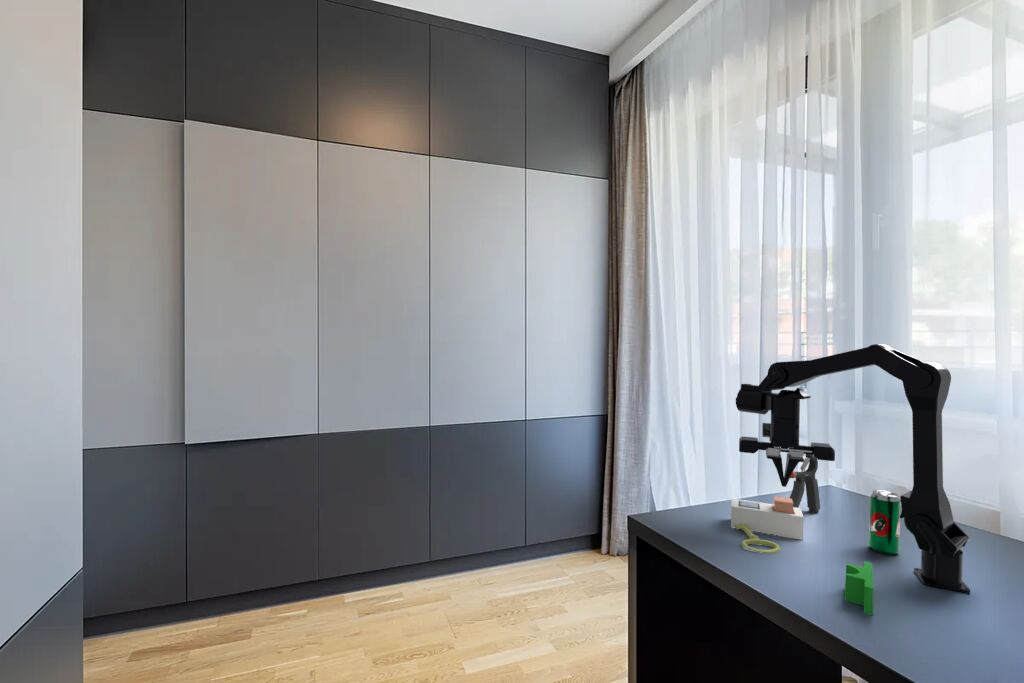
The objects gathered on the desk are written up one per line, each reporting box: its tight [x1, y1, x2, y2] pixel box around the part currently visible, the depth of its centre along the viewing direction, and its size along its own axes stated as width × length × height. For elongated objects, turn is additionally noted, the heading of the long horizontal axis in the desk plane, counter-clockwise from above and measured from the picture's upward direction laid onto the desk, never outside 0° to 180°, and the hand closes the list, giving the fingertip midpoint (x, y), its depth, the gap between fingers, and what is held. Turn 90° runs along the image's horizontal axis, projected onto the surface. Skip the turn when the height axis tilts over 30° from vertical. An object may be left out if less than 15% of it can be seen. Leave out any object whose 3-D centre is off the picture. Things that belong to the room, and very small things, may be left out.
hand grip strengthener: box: [789, 454, 821, 514], centre depth 125 cm, size 2×12×15 cm, turn 118°
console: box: [730, 498, 804, 541], centre depth 115 cm, size 6×14×5 cm, turn 66°
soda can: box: [868, 489, 901, 556], centre depth 105 cm, size 5×5×12 cm
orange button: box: [773, 495, 793, 514], centre depth 114 cm, size 4×4×5 cm
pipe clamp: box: [844, 561, 874, 616], centre depth 85 cm, size 11×4×5 cm, turn 145°
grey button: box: [740, 500, 758, 509], centre depth 117 cm, size 4×4×5 cm
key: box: [734, 523, 781, 554], centre depth 108 cm, size 7×12×2 cm, turn 14°
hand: (783, 486), depth 114 cm, fingers closed
